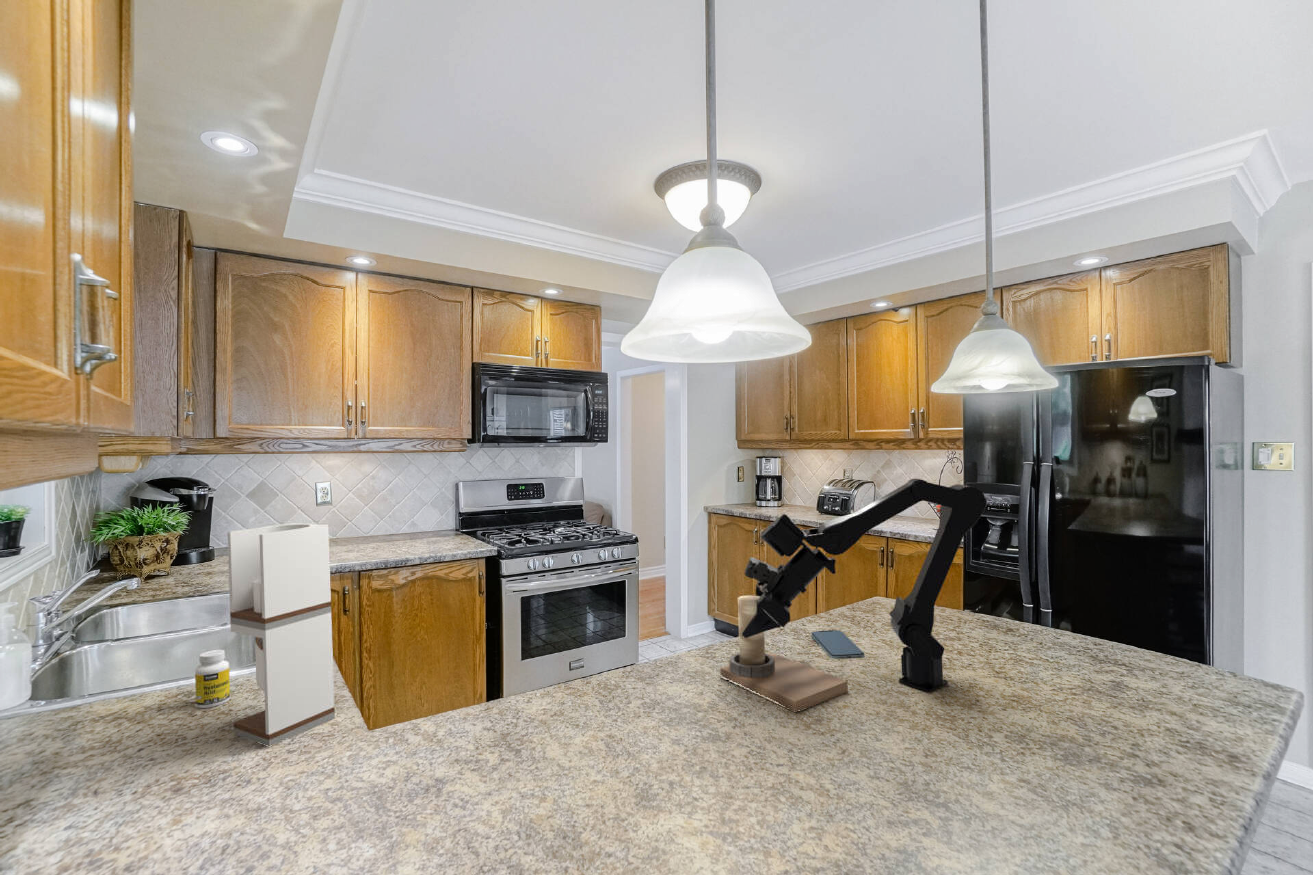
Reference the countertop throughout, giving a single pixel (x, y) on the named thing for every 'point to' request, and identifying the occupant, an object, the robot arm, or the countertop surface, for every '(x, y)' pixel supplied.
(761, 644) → the stool leg
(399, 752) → the countertop surface
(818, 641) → the smartphone
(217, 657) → the supplement bottle
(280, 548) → the display case
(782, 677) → the stool seat
